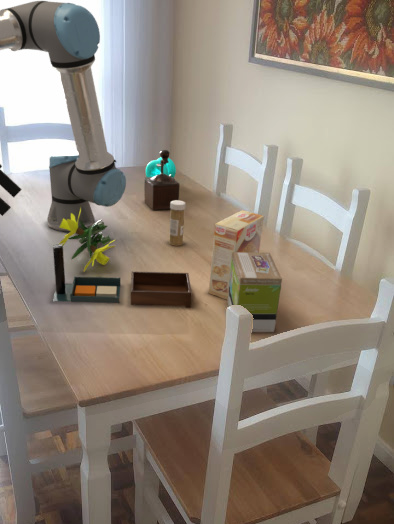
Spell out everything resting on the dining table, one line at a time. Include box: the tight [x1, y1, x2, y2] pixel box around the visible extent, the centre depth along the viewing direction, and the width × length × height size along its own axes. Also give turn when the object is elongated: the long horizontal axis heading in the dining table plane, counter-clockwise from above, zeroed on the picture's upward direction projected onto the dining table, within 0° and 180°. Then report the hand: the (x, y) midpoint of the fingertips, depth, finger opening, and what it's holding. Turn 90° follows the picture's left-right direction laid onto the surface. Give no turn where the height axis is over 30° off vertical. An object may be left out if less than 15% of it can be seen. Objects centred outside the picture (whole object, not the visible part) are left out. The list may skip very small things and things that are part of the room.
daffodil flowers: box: [58, 207, 116, 273], centre depth 163 cm, size 17×15×35 cm
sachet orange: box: [75, 286, 96, 296], centre depth 147 cm, size 4×5×1 cm
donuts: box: [145, 156, 177, 179], centre depth 234 cm, size 10×10×10 cm
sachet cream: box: [96, 286, 117, 297], centre depth 148 cm, size 4×5×1 cm
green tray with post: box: [52, 243, 121, 304], centre depth 144 cm, size 10×16×13 cm, turn 95°
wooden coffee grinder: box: [143, 149, 180, 211], centre depth 210 cm, size 16×11×18 cm
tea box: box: [227, 252, 283, 333], centre depth 139 cm, size 15×10×15 cm, turn 5°
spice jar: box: [168, 199, 186, 247], centre depth 178 cm, size 5×5×14 cm
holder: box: [130, 271, 193, 308], centre depth 149 cm, size 12×15×4 cm
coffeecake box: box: [208, 209, 265, 301], centre depth 152 cm, size 15×7×20 cm, turn 148°
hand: (12, 202), depth 134 cm, fingers open, 13 cm apart
